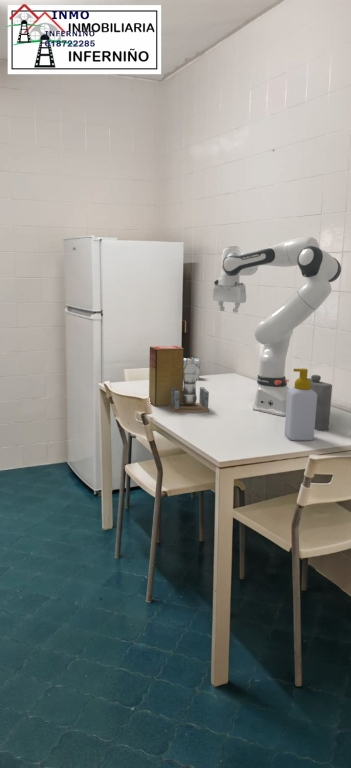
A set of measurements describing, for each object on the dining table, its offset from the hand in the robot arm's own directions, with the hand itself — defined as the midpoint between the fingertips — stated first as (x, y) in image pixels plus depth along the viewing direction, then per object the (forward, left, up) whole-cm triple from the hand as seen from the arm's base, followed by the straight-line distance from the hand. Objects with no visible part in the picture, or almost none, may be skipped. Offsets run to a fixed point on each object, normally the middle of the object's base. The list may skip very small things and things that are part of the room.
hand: (228, 311), depth 271 cm
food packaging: (-4, +39, -39) cm, 56 cm away
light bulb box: (+36, -6, -39) cm, 54 cm away
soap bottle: (-72, +28, -39) cm, 87 cm away
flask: (-64, +11, -39) cm, 76 cm away
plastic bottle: (-17, +35, -38) cm, 54 cm away
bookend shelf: (-18, +37, -39) cm, 57 cm away
